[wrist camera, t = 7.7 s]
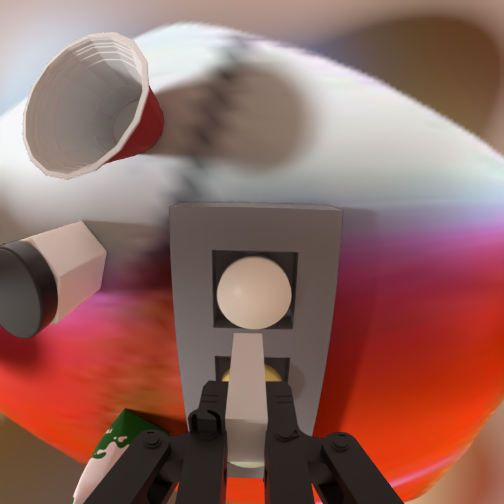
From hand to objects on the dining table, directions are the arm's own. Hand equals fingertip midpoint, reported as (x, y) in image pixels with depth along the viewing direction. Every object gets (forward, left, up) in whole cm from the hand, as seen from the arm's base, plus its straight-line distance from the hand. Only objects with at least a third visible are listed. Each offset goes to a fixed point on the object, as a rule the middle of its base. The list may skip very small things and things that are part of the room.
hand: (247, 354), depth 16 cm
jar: (-20, +1, -15) cm, 25 cm away
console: (0, -10, -15) cm, 18 cm away
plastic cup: (-12, +15, -15) cm, 24 cm away
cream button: (0, 0, -11) cm, 11 cm away
